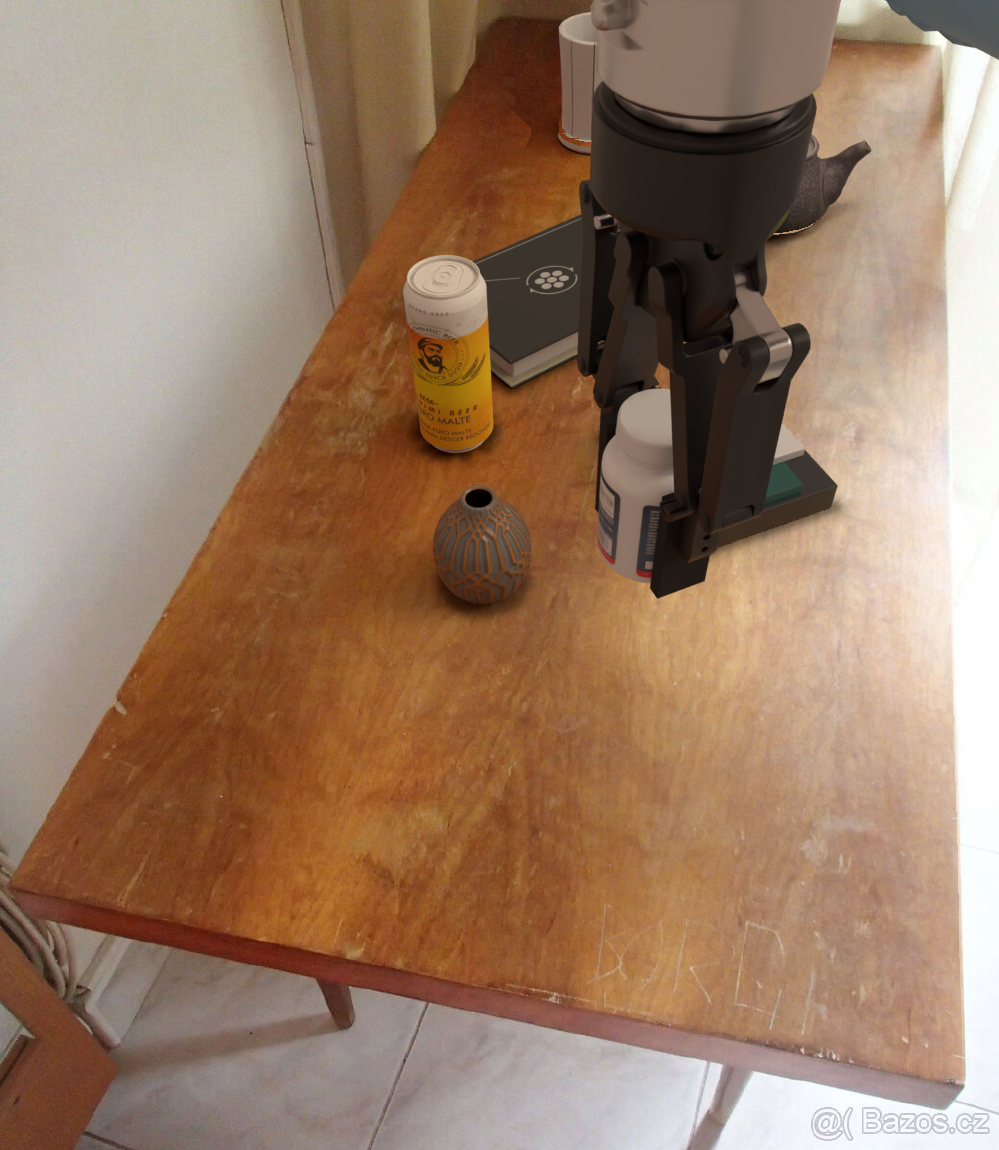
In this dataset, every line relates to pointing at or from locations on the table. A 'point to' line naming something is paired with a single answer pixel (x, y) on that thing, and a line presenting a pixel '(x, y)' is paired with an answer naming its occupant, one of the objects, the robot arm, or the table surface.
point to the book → (534, 302)
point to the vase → (482, 547)
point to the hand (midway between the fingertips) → (648, 543)
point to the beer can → (450, 351)
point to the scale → (788, 490)
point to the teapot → (821, 184)
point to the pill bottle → (635, 484)
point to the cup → (578, 78)
